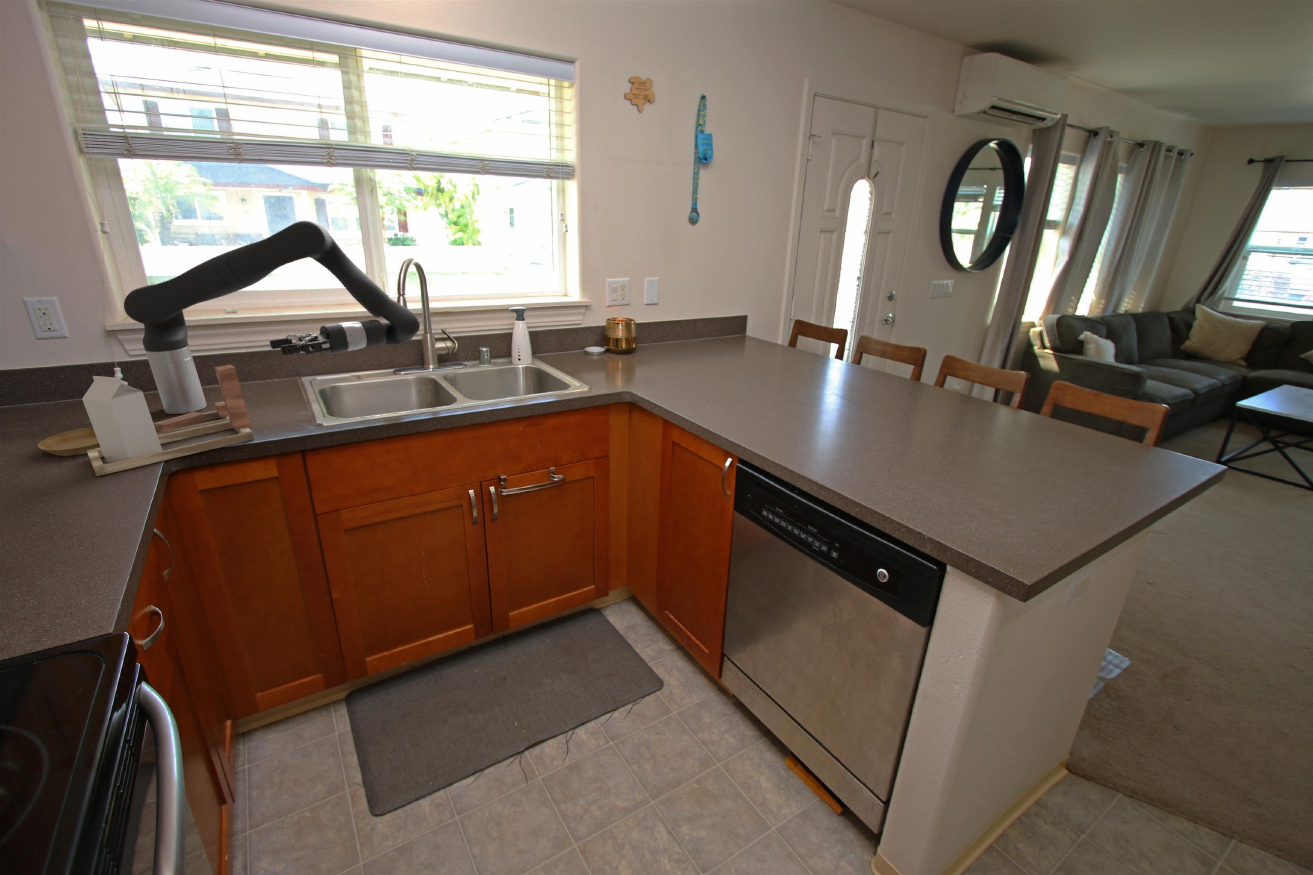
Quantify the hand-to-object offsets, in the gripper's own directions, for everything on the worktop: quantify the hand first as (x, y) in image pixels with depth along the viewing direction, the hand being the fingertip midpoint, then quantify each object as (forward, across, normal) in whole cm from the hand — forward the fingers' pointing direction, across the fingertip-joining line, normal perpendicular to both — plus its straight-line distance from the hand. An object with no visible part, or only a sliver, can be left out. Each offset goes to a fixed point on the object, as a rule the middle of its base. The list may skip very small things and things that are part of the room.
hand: (275, 347), depth 146 cm
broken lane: (+20, -14, +20) cm, 31 cm away
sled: (+25, 0, +19) cm, 31 cm away
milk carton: (+32, 0, +20) cm, 38 cm away
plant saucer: (+39, -17, +20) cm, 47 cm away
